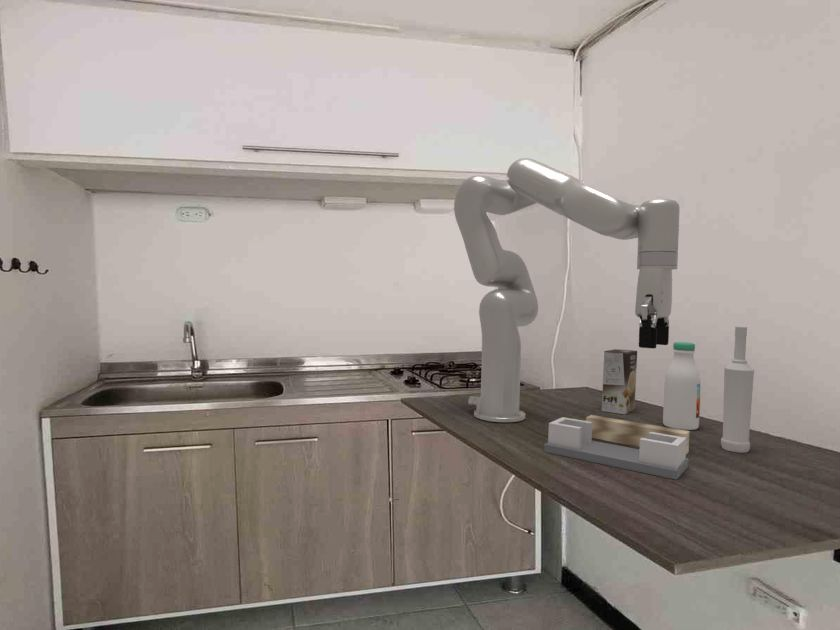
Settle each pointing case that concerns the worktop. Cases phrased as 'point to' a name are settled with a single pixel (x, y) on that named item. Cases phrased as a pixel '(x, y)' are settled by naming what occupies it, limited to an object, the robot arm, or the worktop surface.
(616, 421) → the slat
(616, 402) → the coffee box
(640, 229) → the robot arm
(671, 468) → the grey holder stand
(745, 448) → the bottle
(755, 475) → the worktop surface
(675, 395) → the milk bottle
